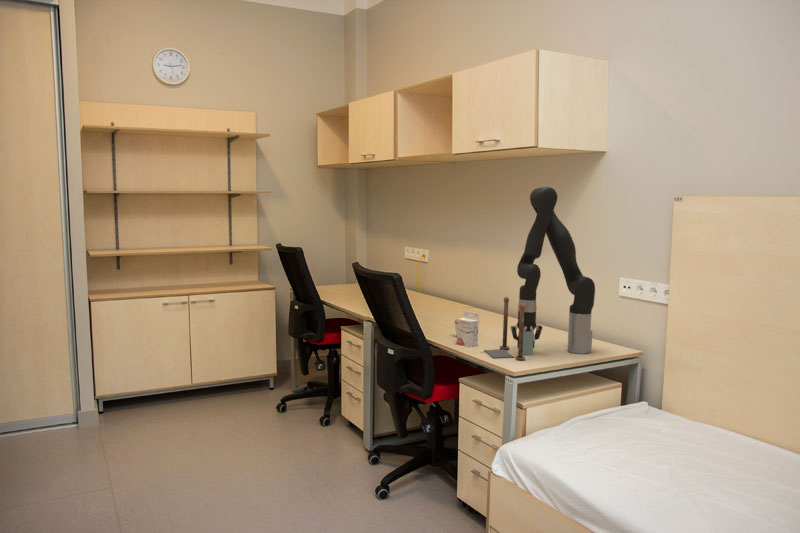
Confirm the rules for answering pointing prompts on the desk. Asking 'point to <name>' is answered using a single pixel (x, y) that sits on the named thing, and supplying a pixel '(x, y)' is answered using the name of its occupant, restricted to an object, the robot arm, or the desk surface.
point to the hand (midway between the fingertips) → (525, 349)
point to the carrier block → (528, 342)
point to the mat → (498, 354)
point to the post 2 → (521, 334)
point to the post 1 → (505, 324)
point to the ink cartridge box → (468, 329)
